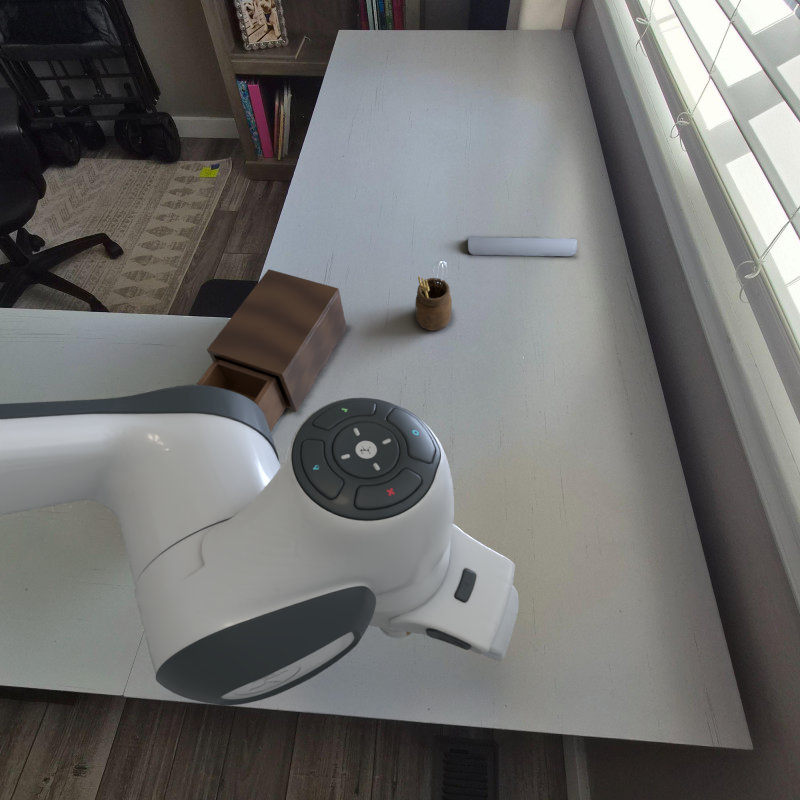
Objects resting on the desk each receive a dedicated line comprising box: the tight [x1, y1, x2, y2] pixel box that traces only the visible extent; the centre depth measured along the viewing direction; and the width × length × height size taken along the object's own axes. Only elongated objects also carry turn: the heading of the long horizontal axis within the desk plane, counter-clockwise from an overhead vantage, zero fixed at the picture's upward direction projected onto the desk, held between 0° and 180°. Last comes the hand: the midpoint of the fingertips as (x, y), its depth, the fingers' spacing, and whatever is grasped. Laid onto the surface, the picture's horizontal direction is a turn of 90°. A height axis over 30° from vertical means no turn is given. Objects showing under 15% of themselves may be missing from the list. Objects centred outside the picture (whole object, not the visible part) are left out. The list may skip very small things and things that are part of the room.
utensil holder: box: [415, 260, 453, 331], centre depth 87 cm, size 6×6×12 cm
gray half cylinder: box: [467, 236, 578, 257], centre depth 100 cm, size 4×20×2 cm, turn 85°
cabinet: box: [206, 269, 348, 412], centre depth 85 cm, size 18×13×10 cm
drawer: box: [195, 359, 287, 432], centre depth 76 cm, size 21×11×8 cm, turn 157°
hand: (396, 605), depth 50 cm, fingers closed on pill bottle, 4 cm apart
